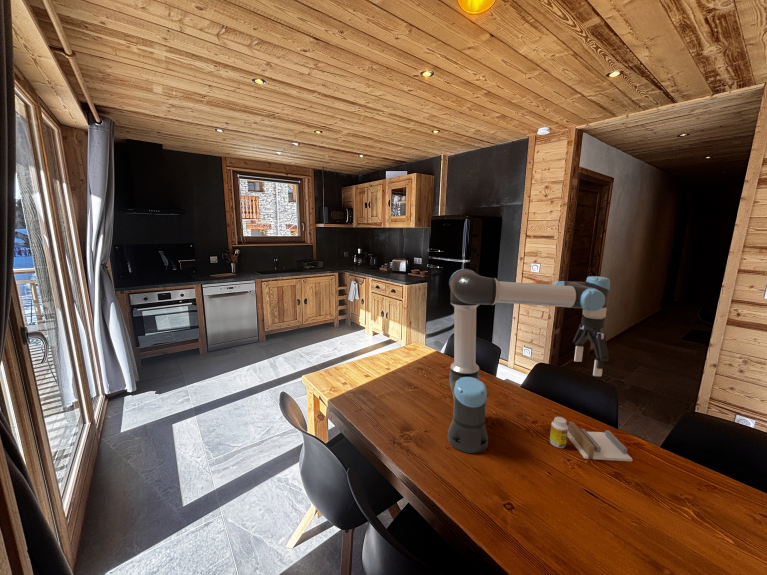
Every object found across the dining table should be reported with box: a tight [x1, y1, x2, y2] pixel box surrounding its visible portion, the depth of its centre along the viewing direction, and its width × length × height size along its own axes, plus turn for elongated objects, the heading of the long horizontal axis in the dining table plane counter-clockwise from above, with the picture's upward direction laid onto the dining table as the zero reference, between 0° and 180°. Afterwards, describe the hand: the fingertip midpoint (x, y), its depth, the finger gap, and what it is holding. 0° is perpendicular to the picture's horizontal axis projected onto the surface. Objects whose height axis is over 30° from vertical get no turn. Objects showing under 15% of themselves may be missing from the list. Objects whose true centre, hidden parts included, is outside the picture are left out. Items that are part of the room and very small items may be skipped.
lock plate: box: [567, 421, 633, 462], centre depth 119 cm, size 16×15×5 cm
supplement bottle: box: [549, 416, 568, 449], centre depth 120 cm, size 6×6×10 cm
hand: (586, 368), depth 126 cm, fingers open, 13 cm apart
